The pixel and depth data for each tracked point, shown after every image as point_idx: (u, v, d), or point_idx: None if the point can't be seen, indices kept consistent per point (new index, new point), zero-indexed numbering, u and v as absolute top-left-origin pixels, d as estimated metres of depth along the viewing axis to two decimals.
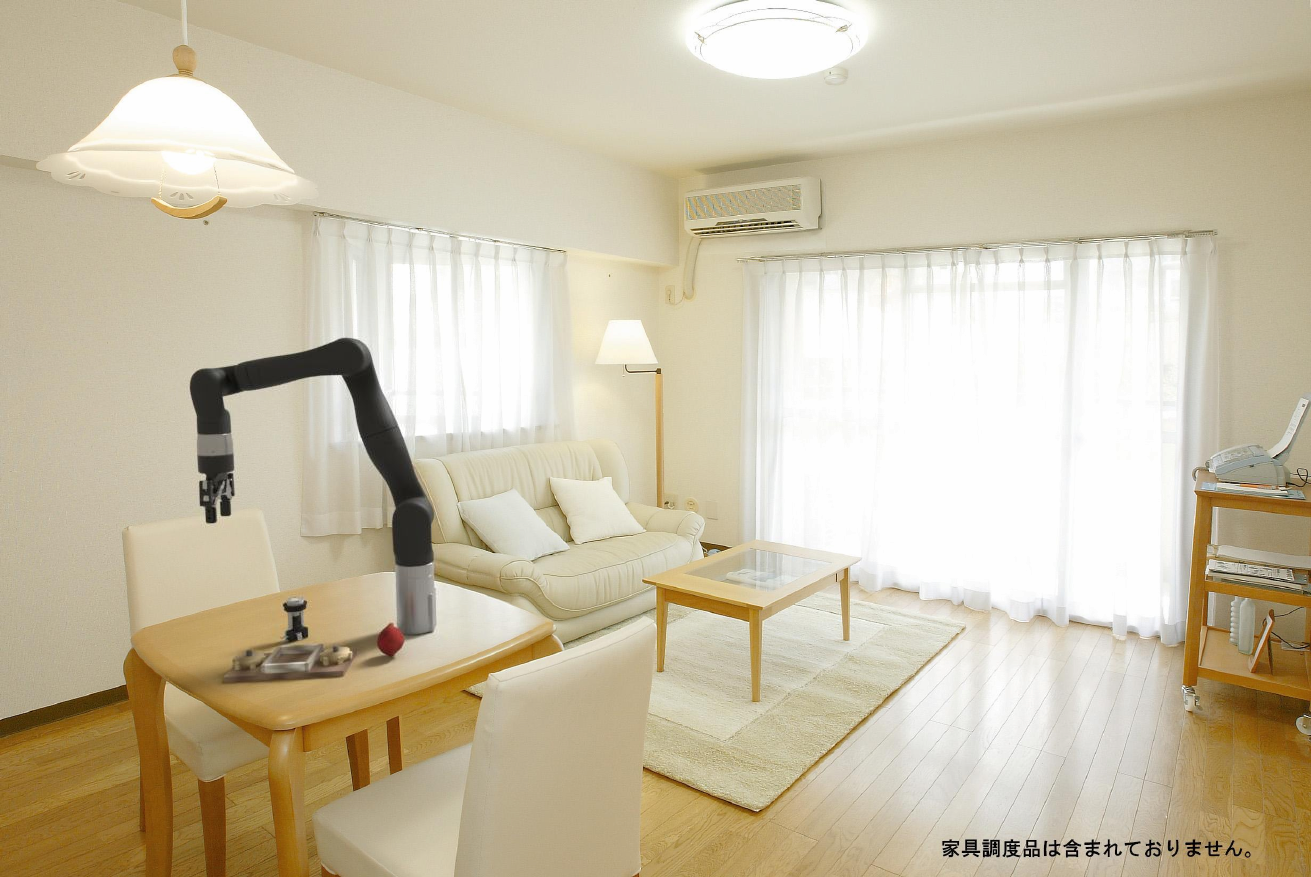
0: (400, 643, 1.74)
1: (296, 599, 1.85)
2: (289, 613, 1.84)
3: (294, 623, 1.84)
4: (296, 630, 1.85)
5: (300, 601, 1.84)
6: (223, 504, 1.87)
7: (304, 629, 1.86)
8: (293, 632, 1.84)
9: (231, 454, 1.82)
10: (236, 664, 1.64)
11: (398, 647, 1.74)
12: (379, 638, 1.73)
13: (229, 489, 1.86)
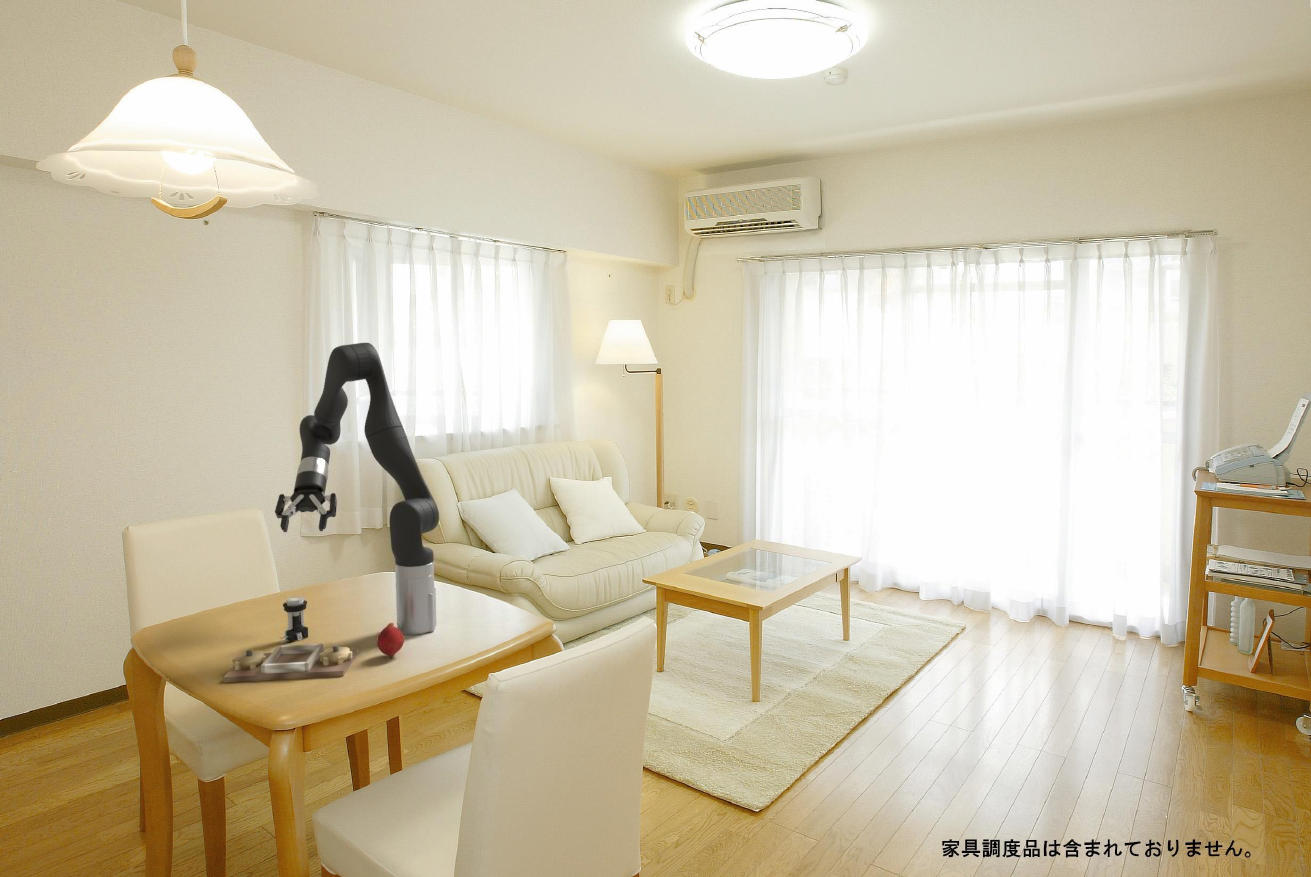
0: (400, 643, 1.74)
1: (296, 599, 1.85)
2: (289, 613, 1.84)
3: (294, 623, 1.84)
4: (296, 630, 1.85)
5: (300, 601, 1.85)
6: None
7: (304, 629, 1.86)
8: (293, 632, 1.84)
9: (307, 471, 2.01)
10: (236, 664, 1.64)
11: (398, 647, 1.74)
12: (379, 638, 1.73)
13: (316, 503, 1.97)
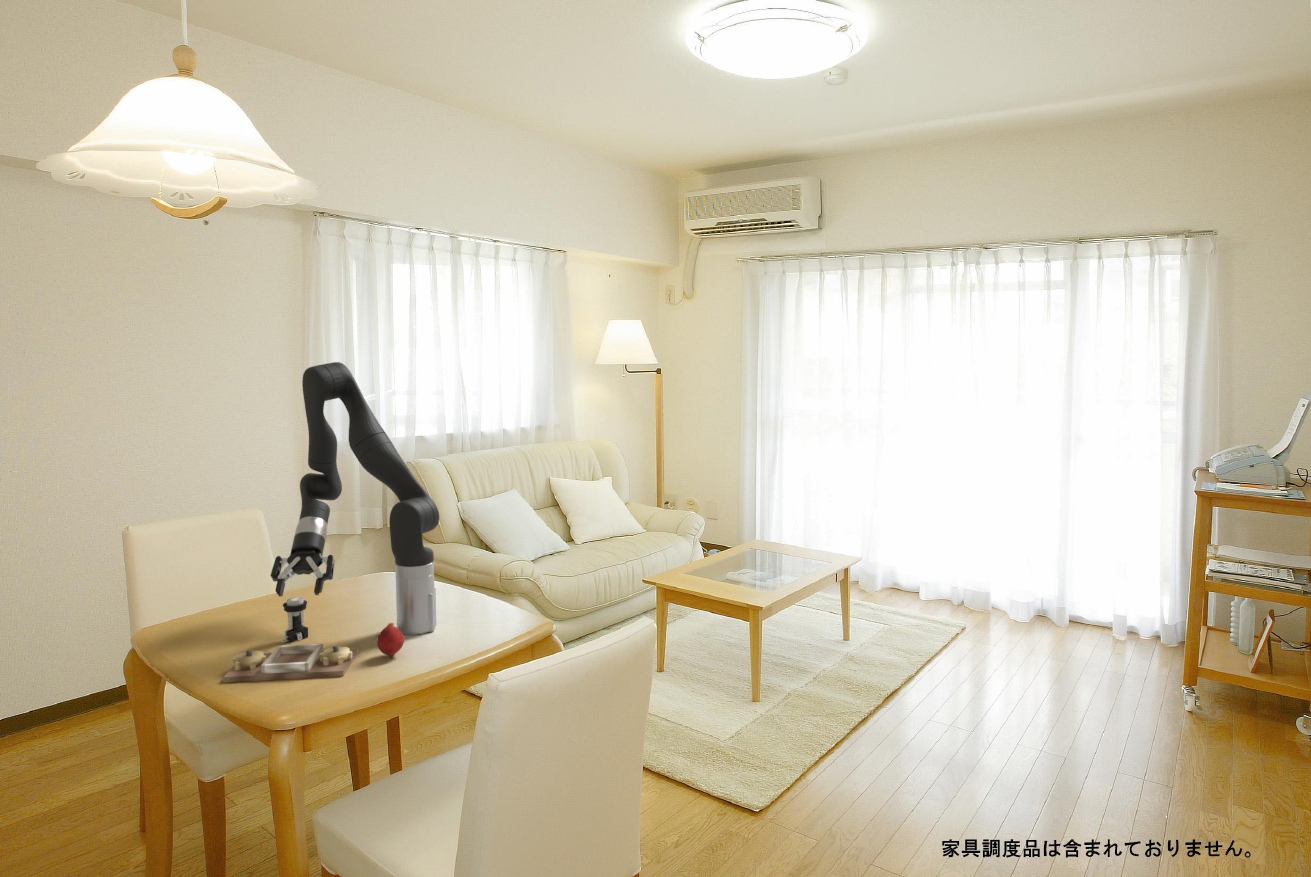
0: (400, 643, 1.74)
1: (296, 599, 1.85)
2: (289, 613, 1.84)
3: (294, 623, 1.84)
4: (296, 630, 1.85)
5: (300, 601, 1.84)
6: None
7: (304, 629, 1.86)
8: (293, 632, 1.84)
9: (304, 532, 1.96)
10: (236, 664, 1.64)
11: (398, 647, 1.74)
12: (379, 638, 1.73)
13: (313, 566, 1.93)
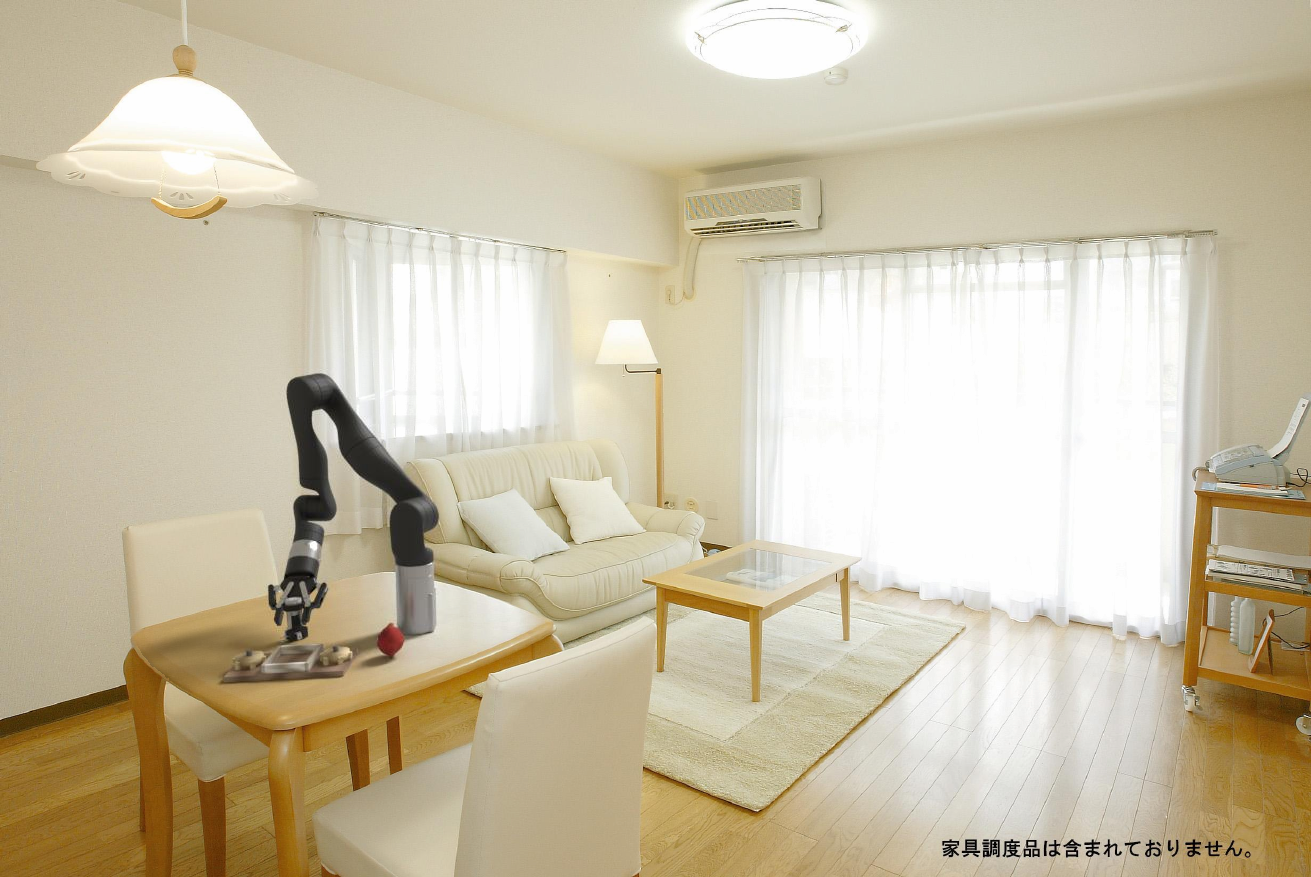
0: (400, 643, 1.74)
1: (294, 598, 1.85)
2: (288, 613, 1.84)
3: (293, 622, 1.85)
4: (295, 629, 1.85)
5: (298, 600, 1.85)
6: None
7: (304, 628, 1.86)
8: (293, 631, 1.84)
9: (297, 556, 1.91)
10: (236, 664, 1.64)
11: (398, 647, 1.74)
12: (379, 638, 1.73)
13: (303, 593, 1.87)
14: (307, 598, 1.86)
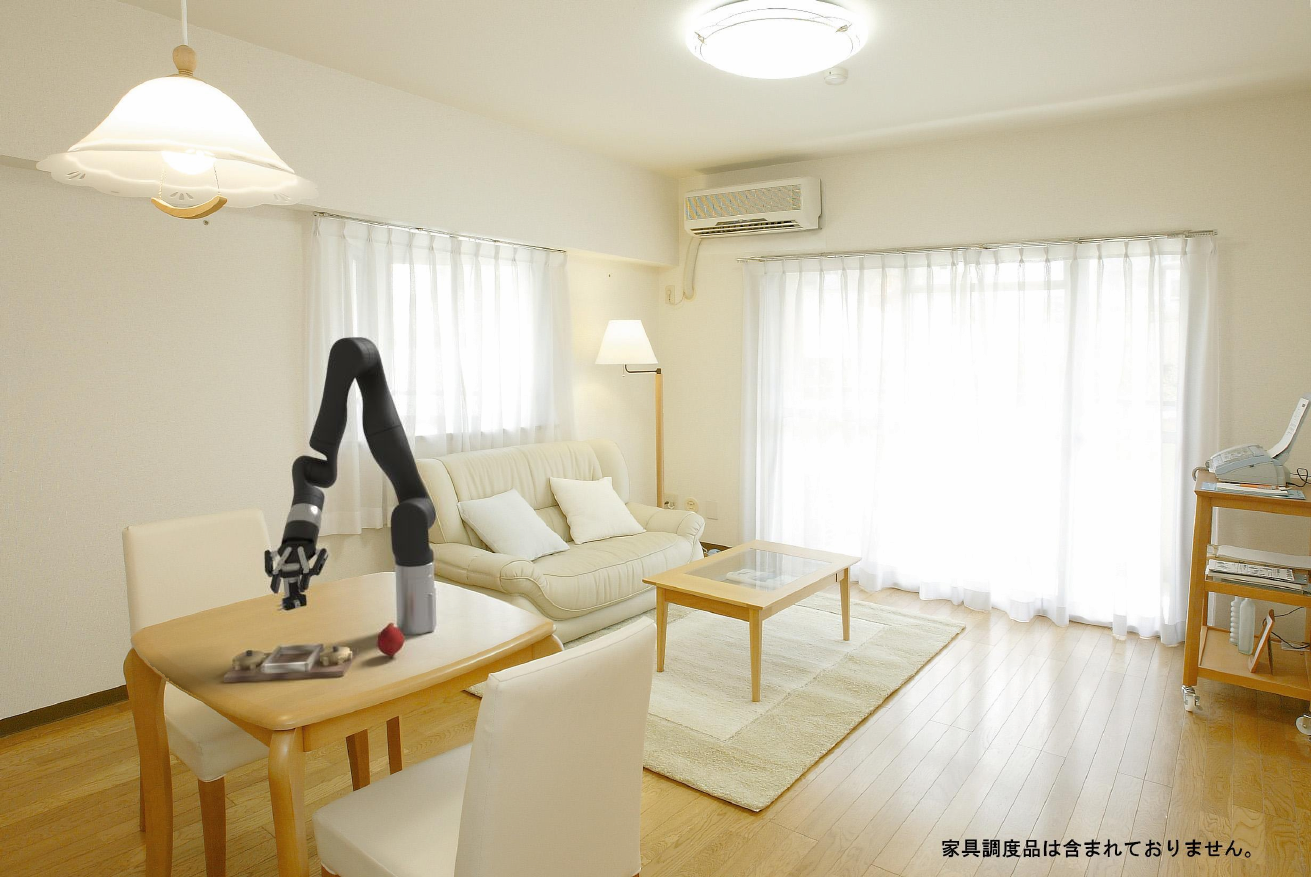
0: (400, 643, 1.74)
1: (292, 564, 1.74)
2: (285, 579, 1.73)
3: (291, 590, 1.73)
4: (293, 597, 1.73)
5: (296, 566, 1.73)
6: None
7: (302, 596, 1.75)
8: (290, 599, 1.73)
9: (296, 520, 1.79)
10: (236, 664, 1.64)
11: (398, 647, 1.74)
12: (379, 638, 1.73)
13: (302, 558, 1.76)
14: (305, 564, 1.75)
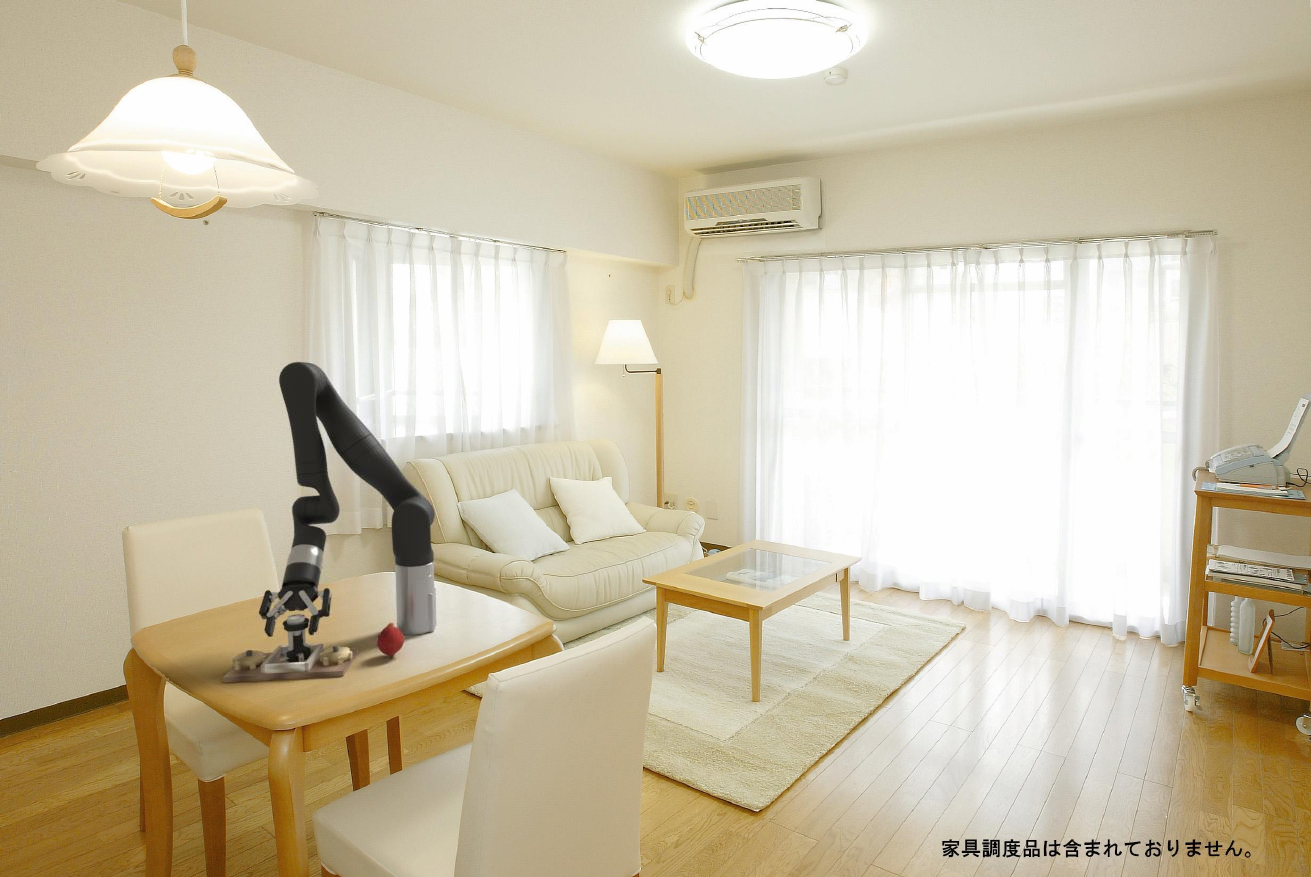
0: (400, 643, 1.74)
1: (297, 617, 1.69)
2: (289, 632, 1.67)
3: (295, 643, 1.68)
4: (297, 651, 1.68)
5: (301, 619, 1.68)
6: None
7: (306, 650, 1.70)
8: (294, 653, 1.68)
9: (297, 562, 1.74)
10: (236, 664, 1.64)
11: (398, 647, 1.74)
12: (379, 638, 1.73)
13: (307, 602, 1.70)
14: (312, 606, 1.70)
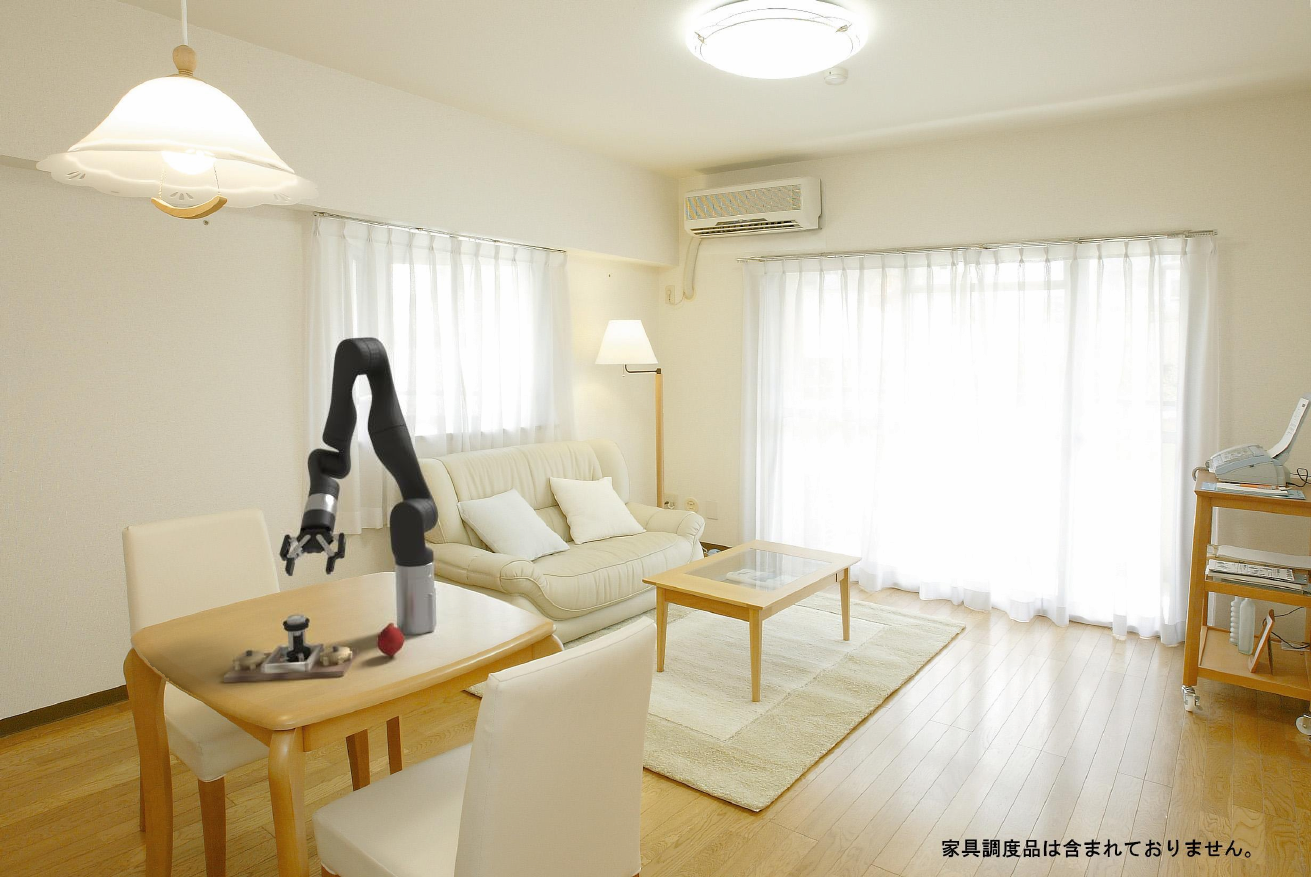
0: (400, 643, 1.74)
1: (297, 617, 1.68)
2: (290, 632, 1.67)
3: (295, 643, 1.68)
4: (297, 651, 1.68)
5: (302, 619, 1.68)
6: None
7: (306, 650, 1.70)
8: (294, 653, 1.68)
9: (313, 509, 1.87)
10: (236, 664, 1.64)
11: (398, 647, 1.74)
12: (379, 638, 1.73)
13: (323, 544, 1.84)
14: (329, 548, 1.84)
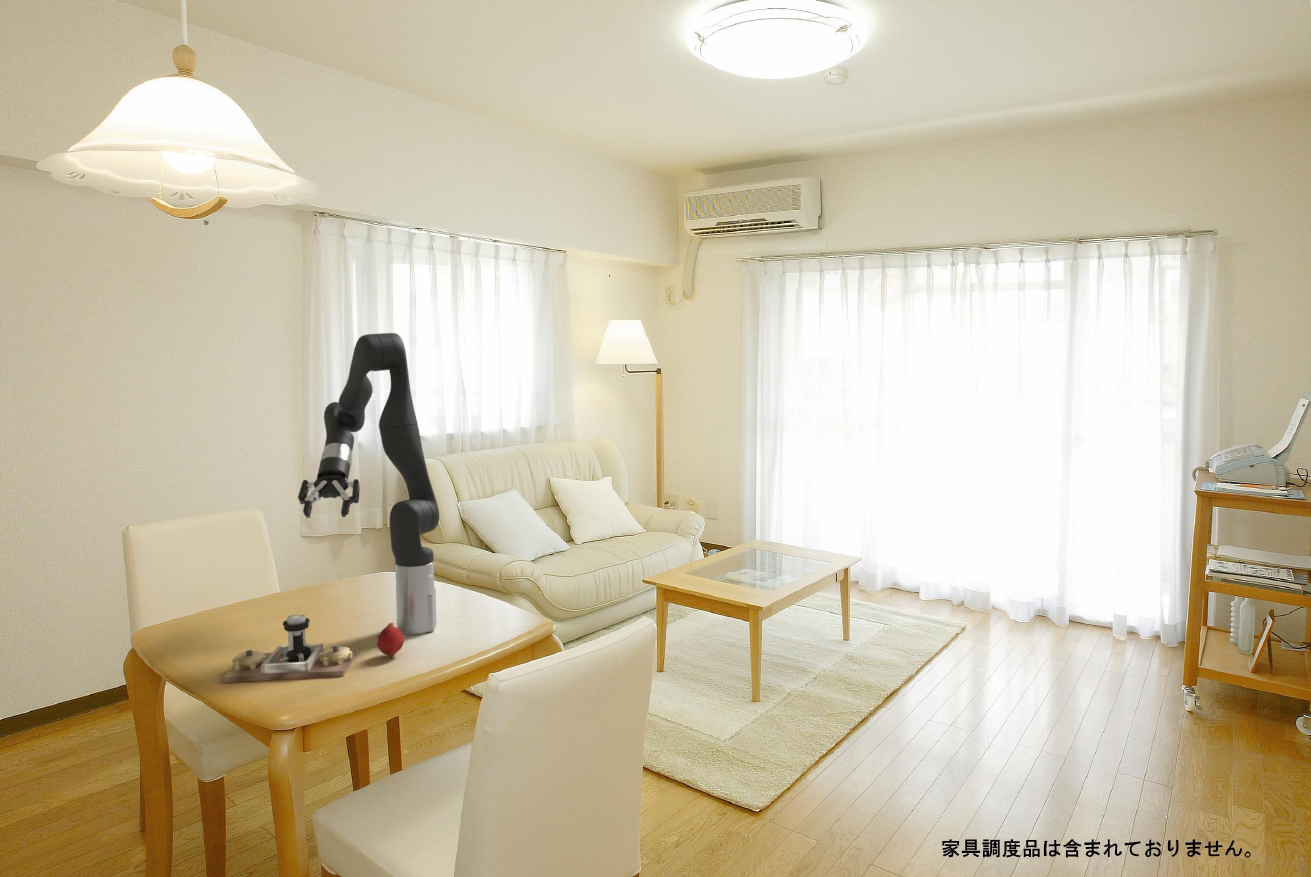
0: (400, 643, 1.74)
1: (297, 617, 1.68)
2: (290, 632, 1.67)
3: (295, 643, 1.68)
4: (297, 651, 1.68)
5: (302, 619, 1.68)
6: None
7: (306, 650, 1.70)
8: (294, 653, 1.68)
9: (330, 457, 1.99)
10: (236, 664, 1.64)
11: (398, 647, 1.74)
12: (379, 638, 1.73)
13: (339, 489, 1.96)
14: (344, 493, 1.95)
